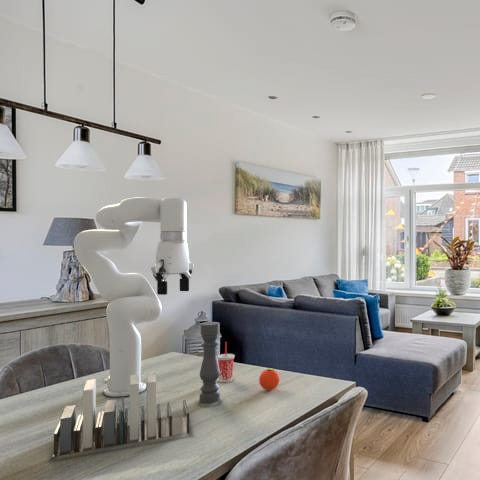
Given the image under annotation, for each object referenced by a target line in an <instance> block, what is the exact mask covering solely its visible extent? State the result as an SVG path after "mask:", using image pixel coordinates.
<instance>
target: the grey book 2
mask: <svg viewBox="0 0 480 480" xmlns="http://www.w3.org/2000/svg"><path fill="white" fill-rule="evenodd" d="M116 423H117V399H108V400H106V401H105V406H104V445H108V444H114V440H115V431H116Z"/></svg>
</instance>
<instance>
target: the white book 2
mask: <svg viewBox="0 0 480 480" xmlns="http://www.w3.org/2000/svg"><path fill="white" fill-rule="evenodd" d="M139 403H140V393H139V374H136V375H130V395H129V426H130V441H131V440H137V439H139V424H140V421H139V418H140V415H139V414H140V413H139V411H140V410H139V409H140V408H139V407H140V405H139Z"/></svg>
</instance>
